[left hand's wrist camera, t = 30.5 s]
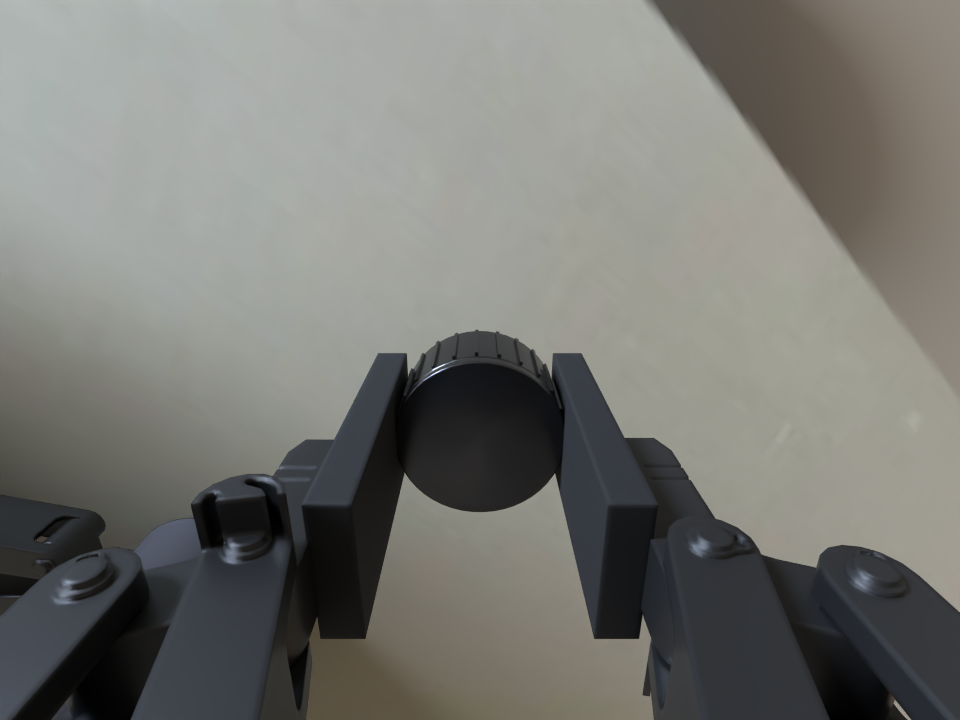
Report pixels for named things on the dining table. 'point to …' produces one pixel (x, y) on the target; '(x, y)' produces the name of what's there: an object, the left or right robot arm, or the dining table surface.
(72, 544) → the right robot arm
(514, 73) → the dining table surface
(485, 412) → the cap
